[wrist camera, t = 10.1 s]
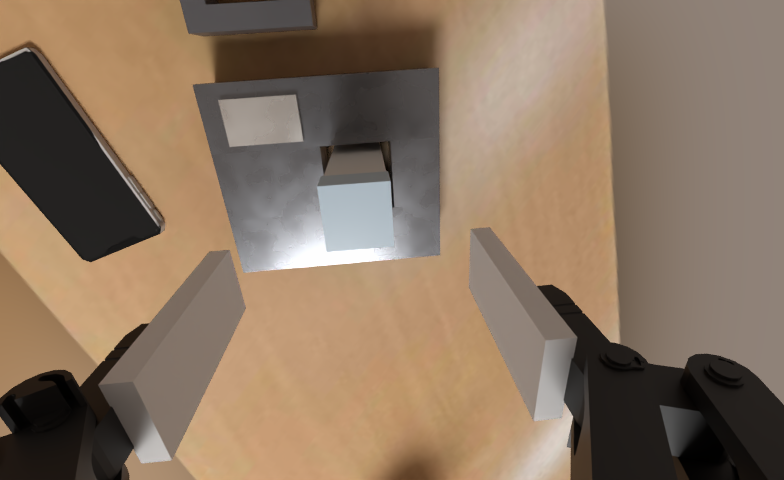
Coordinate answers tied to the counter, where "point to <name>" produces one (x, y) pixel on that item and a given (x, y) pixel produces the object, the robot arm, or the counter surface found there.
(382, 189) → the plug
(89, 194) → the smartphone
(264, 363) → the counter surface
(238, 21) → the grey square ring
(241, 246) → the panel
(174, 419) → the robot arm
